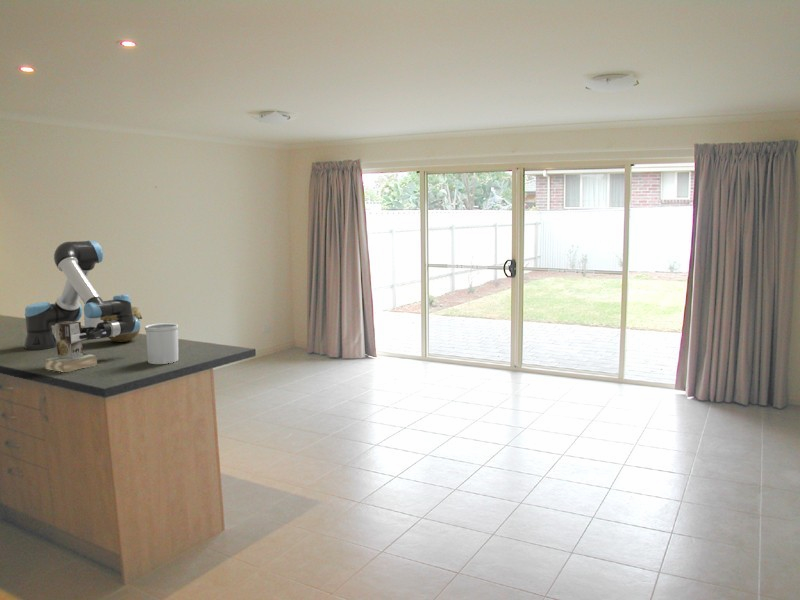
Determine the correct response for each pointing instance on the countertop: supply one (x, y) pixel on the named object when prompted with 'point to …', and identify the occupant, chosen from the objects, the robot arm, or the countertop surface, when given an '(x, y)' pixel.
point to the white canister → (92, 322)
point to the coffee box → (68, 339)
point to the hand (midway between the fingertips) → (63, 336)
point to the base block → (70, 363)
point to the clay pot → (125, 336)
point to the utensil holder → (162, 343)
